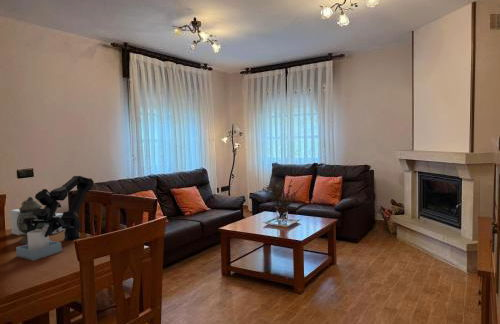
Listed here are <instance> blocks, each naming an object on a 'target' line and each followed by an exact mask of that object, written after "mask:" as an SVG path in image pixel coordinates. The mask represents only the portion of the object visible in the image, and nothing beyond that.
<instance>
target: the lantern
mask: <svg viewBox="0 0 500 324" xmlns="http://www.w3.org/2000/svg"><path fill="white" fill-rule="evenodd" d="M42 208H43V205H42V204H40V203H38V201H37V200H34V199H33V197H32V196H29V197H27V199H26V200H24V201H23V202H22V203H21V207H19V208H18V209H19V210H20V214H19V216H18V218H17V227H18V229H19V230H20V231H21V232H22V233H25V234H23V237H22V238H21V239H20V240H19V243H20V244H28V237H27V225H26V224H24V223H23V220H24V218H26V217H33V218H34V219H35V220H38V218H36V216H35V215H32V213H33V209H42ZM44 226H45V224H37V226H36V229H44ZM36 229H35V230H36Z"/></svg>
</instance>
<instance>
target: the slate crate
mask: <svg viewBox="0 0 500 324" xmlns="http://www.w3.org/2000/svg"><path fill="white" fill-rule="evenodd" d="M49 244H50V246H47V247H44V248H41V249H37V250H34V251H32V250H28V243H26V244H25V245H20V246H16V248H15V249H16V251H15V252H16V257H18V258H21V259H24V260H25V259H26V260H29V261H33V262H34V261H37V260H39V259H42V258H45V257H49V256H51V255H54V254H55V255H56V254H58V253H62V251H63V250H62V248H63V247H62V242H57V241H53V240H49Z"/></svg>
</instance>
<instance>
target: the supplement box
mask: <svg viewBox="0 0 500 324" xmlns="http://www.w3.org/2000/svg"><path fill="white" fill-rule="evenodd" d="M19 209H20V208H17V209H10V223H11V234H13V235H17V236H23V235H25V233H22V232H21V231H20V230H19V229H18V227H17V218H18V216H19V214H20V210H19Z"/></svg>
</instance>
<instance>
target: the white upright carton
mask: <svg viewBox="0 0 500 324" xmlns="http://www.w3.org/2000/svg"><path fill="white" fill-rule="evenodd" d="M46 231H47V229H44V228H43V229H36V230H33V231H31V232H28V233H27V237H28V243H27V244H28V250H32V251H34V250H37V249H41V248H44V247H47V246H50V244H49V241H50V235H49V236H47V237H45V233H46Z"/></svg>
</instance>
